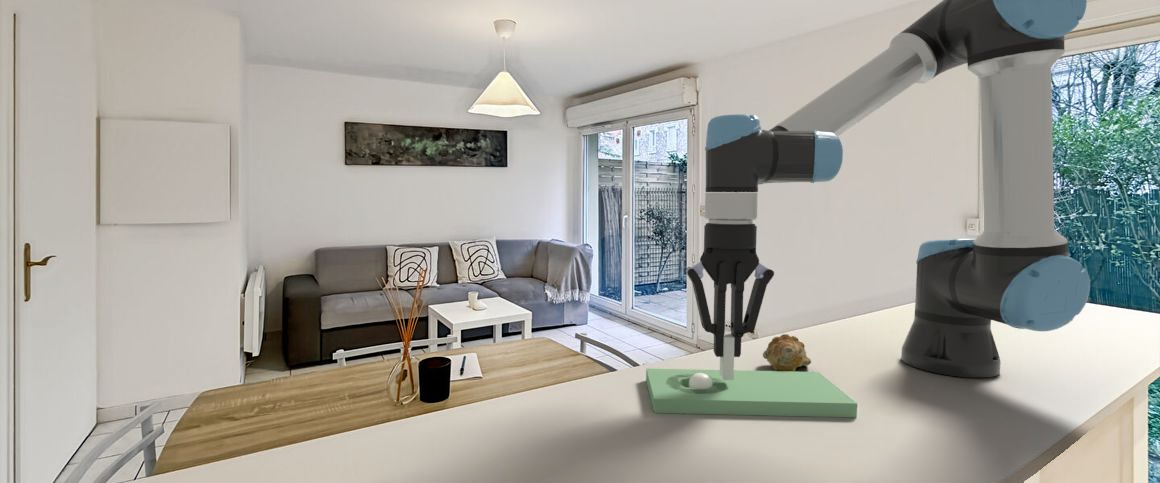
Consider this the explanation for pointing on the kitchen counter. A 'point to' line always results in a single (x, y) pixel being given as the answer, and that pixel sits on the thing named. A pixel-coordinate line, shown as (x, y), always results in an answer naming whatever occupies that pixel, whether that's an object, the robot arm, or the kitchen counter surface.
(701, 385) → the ball
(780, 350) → the seashell
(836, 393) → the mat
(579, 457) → the kitchen counter surface
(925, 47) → the robot arm
